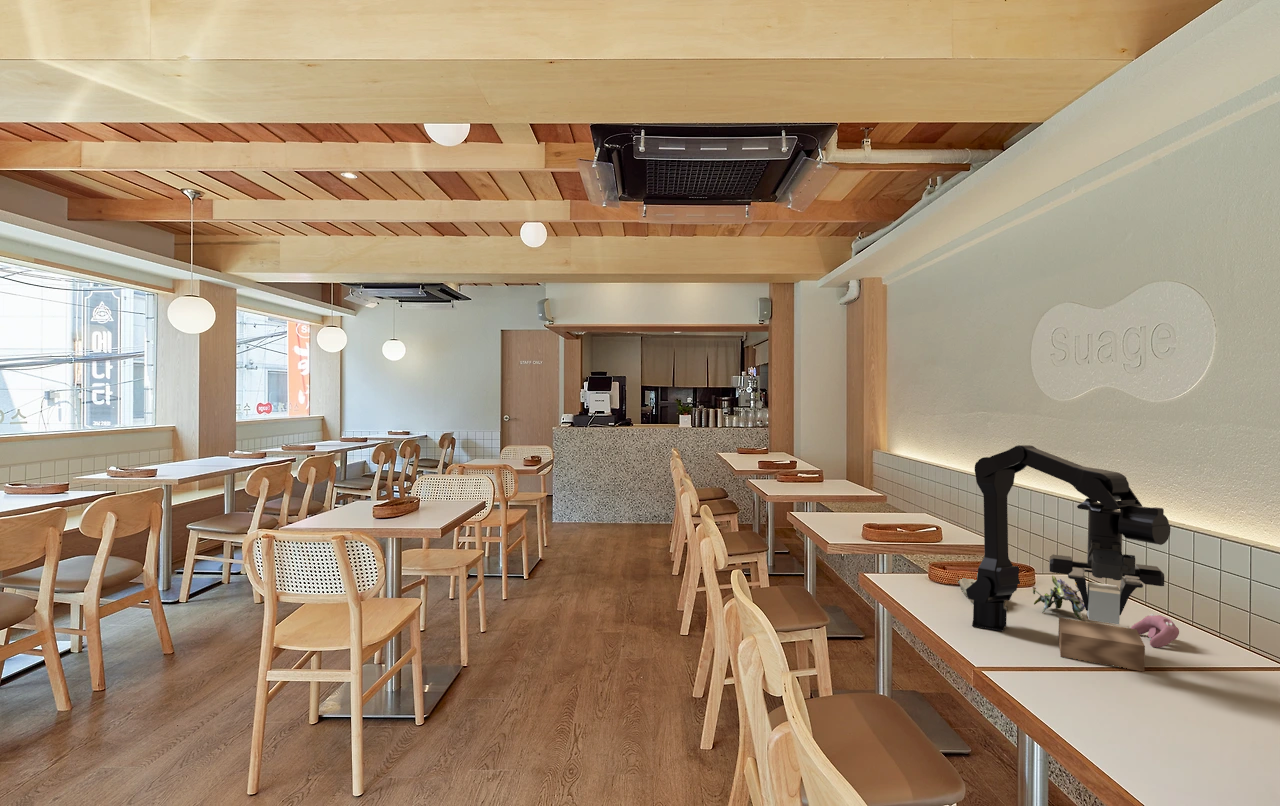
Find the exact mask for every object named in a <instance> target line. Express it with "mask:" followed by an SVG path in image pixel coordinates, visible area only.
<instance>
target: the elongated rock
mask: <svg viewBox="0 0 1280 806" xmlns="http://www.w3.org/2000/svg"><path fill="white" fill-rule="evenodd" d="M957 581H958V580H957ZM976 581H977V580H974V579H966V578H962V579H960V580H959V581H958V582H957V583H958V584H959V587H960V590H961V591H962V593H963V595H964V596H966V597H967V599H968V600H969V601H970V604H974V600H971V599H969V598H968V596H967V592H966V589H967V588H968V587H970V586H971V585H972V584H973V583H974V582H976ZM1005 601H1006V600H1005ZM1005 601H1004V605H1005V604H1006V603H1005Z"/></svg>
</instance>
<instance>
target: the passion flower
mask: <svg viewBox="0 0 1280 806" xmlns="http://www.w3.org/2000/svg"><path fill="white" fill-rule="evenodd" d="M1051 581H1052V584H1053V585H1054V586H1053V589H1052V588H1050V589H1049V590H1050V594H1048V593H1047V592H1045V593H1044V594H1043V595H1042V594H1041V593H1040V592H1038V591H1037V590H1036V589H1037V587H1035V586H1032V593H1033V595H1036V593H1037V594H1038V595H1039V597H1038V598H1037V599H1036V600H1034V602H1033V605H1036V604H1038V603H1040V602H1042V603H1043V604H1044V607H1043V609H1042V612H1041V614H1042V613H1043V614H1044V613H1045V611H1046V610H1047V609H1049V608H1051V607H1052V605H1053V604H1054V605H1055V610H1059V609H1062V605H1063V603H1064V602H1063V601H1069V602H1070V604H1071V607H1072V612H1073V614H1074V616H1075V617H1076V618H1077V619H1079V620H1083V619H1084V617H1083V614H1082V612H1083V611H1085V610H1086V609H1085V606H1084V603H1083V599H1082V597H1080V596H1079V595H1078V594H1077V593H1078V592H1080V590H1079V588H1078V586H1077V584H1076V582H1075V581H1074V582H1075V583H1074V584H1075V588H1076V590H1075V589H1073V588H1072V587H1071V585H1069V584H1068V583H1066V582H1065V580H1062V579H1061V578H1059V579H1057V578H1056V576H1055V575H1051Z"/></svg>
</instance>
